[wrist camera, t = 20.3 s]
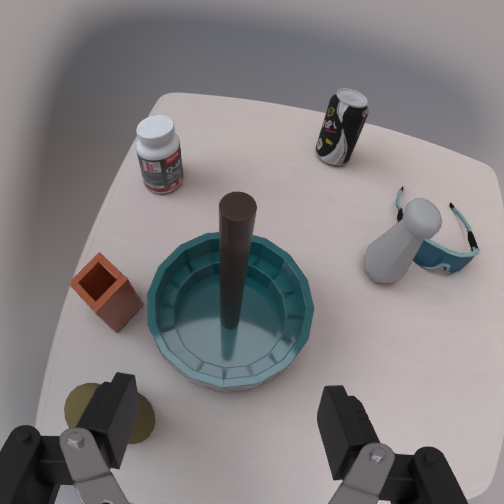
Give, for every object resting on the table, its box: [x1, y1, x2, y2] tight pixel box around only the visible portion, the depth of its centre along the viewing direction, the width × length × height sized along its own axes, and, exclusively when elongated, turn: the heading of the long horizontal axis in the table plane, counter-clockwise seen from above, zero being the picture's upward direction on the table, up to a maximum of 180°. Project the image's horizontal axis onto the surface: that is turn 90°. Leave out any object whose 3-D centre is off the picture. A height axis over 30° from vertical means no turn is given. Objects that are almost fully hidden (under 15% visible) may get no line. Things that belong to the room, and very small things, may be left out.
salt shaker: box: [365, 198, 442, 283], centre depth 34 cm, size 6×6×13 cm
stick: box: [219, 192, 257, 329], centre depth 26 cm, size 2×2×20 cm
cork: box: [64, 383, 155, 444], centre depth 24 cm, size 6×6×11 cm
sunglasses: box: [396, 186, 480, 274], centre depth 42 cm, size 14×15×5 cm
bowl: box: [147, 232, 314, 392], centre depth 32 cm, size 16×16×6 cm
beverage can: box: [316, 88, 368, 165], centre depth 44 cm, size 6×6×12 cm
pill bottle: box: [136, 115, 183, 194], centre depth 40 cm, size 6×6×10 cm
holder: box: [69, 252, 143, 333], centre depth 31 cm, size 5×5×7 cm
